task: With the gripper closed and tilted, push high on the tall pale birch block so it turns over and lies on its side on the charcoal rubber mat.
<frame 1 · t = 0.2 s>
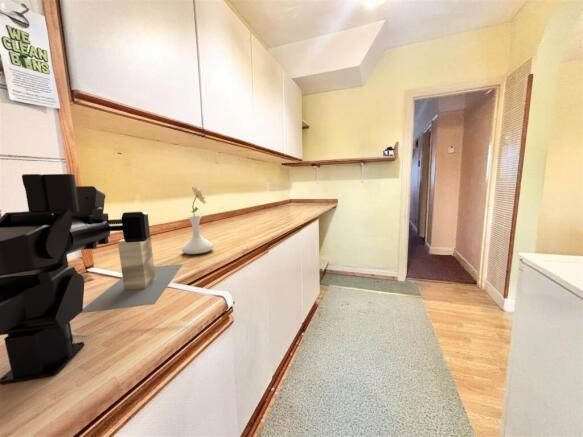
hand: (117, 223, 57), 17 cm above the worktop, tool horizontal, fingers open, 9 cm apart
flower in vase: (198, 252, 91), on the worktop
shard: (74, 287, 63), on the worktop
birch block: (140, 284, 60), point 1 cm above the worktop, touching rubber mat
rubber mat: (142, 285, 61), on the worktop
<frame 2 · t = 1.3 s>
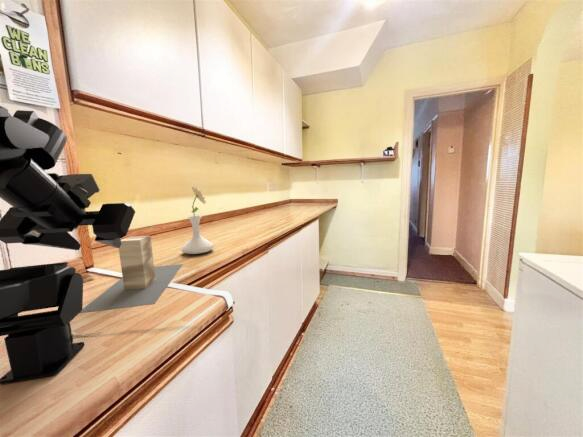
hand: (99, 246, 46), 14 cm above the worktop, tool tilted 45°, fingers open, 7 cm apart
nothing on the worktop moved.
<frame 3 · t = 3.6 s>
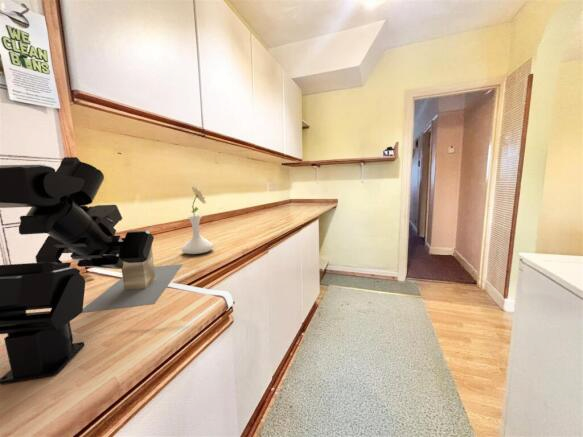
hand: (121, 266, 53), 8 cm above the worktop, tool tilted 45°, fingers closed
nothing on the worktop moved.
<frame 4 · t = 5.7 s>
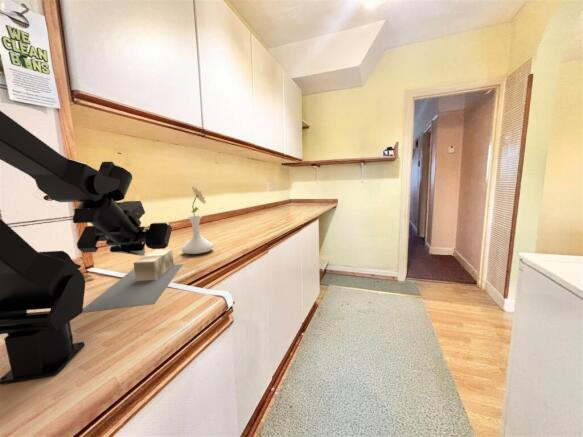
hand: (143, 253, 62), 8 cm above the worktop, tool tilted 45°, fingers closed
birch block: (144, 271, 62), point 3 cm above the worktop, tilted 90°, touching rubber mat
everything else where it was.
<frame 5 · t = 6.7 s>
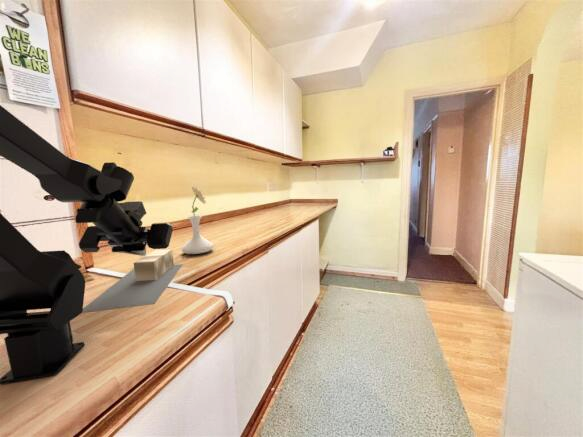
hand: (144, 254, 63), 8 cm above the worktop, tool tilted 45°, fingers closed
nothing on the worktop moved.
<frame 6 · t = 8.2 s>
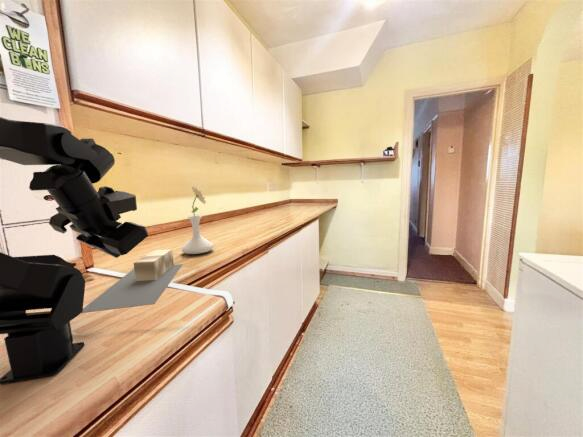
hand: (117, 255, 52), 10 cm above the worktop, tool tilted 30°, fingers closed
nothing on the worktop moved.
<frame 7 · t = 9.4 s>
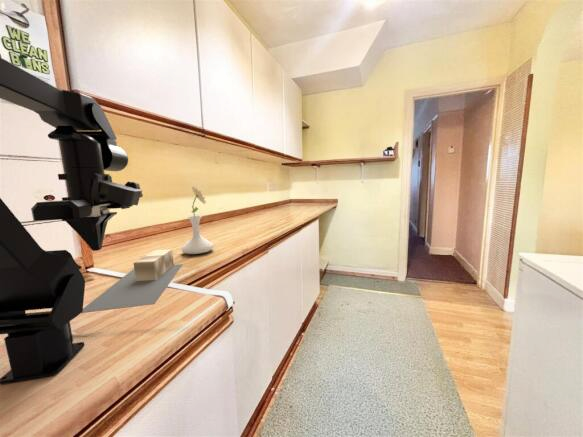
hand: (97, 250, 46), 13 cm above the worktop, tool pointing down, fingers closed
nothing on the worktop moved.
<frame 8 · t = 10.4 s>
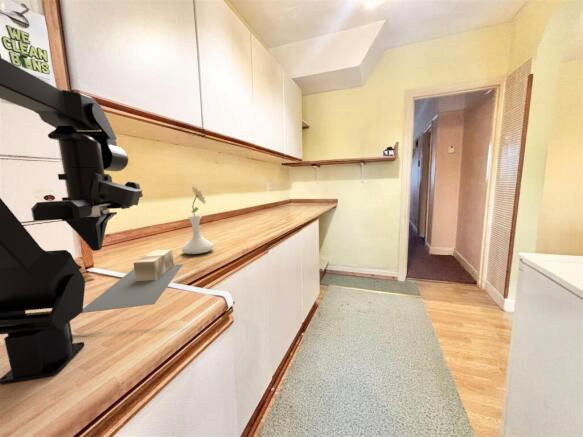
hand: (97, 250, 46), 13 cm above the worktop, tool pointing down, fingers closed
nothing on the worktop moved.
at the end: birch block tilted 90°; birch block touching rubber mat; birch block inside the target area (2.5 cm from its centre), point 3.1 cm above the worktop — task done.
